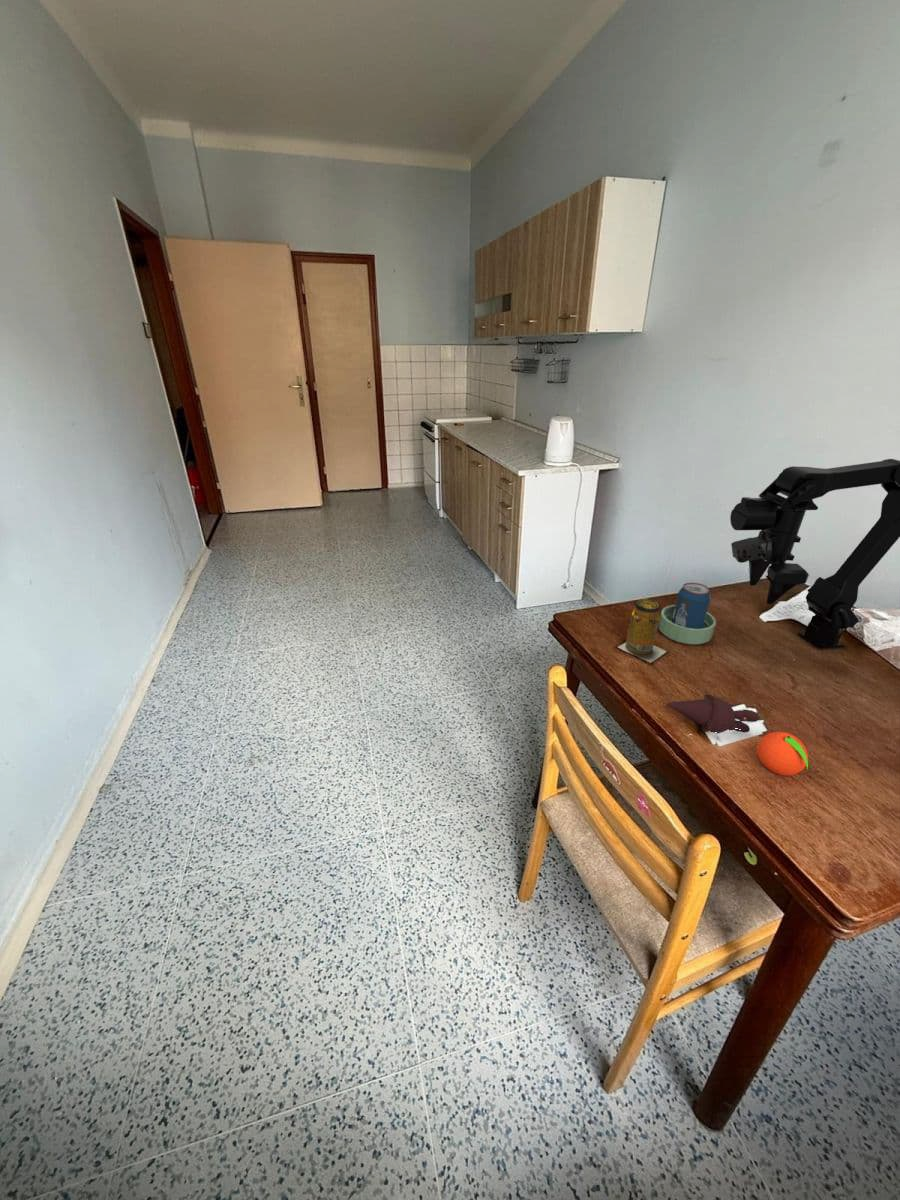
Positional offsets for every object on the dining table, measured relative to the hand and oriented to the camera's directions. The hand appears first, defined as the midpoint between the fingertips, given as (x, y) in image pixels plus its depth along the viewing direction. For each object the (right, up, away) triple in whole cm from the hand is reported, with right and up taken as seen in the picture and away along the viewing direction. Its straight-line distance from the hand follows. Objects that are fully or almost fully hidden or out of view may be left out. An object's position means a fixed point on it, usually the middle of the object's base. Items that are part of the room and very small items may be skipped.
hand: (760, 594), depth 107 cm
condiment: (-26, -13, +4) cm, 29 cm away
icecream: (-23, -26, -19) cm, 39 cm away
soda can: (-12, -9, +10) cm, 18 cm away
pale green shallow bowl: (-12, -9, +10) cm, 19 cm away
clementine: (-16, -30, -28) cm, 44 cm away
